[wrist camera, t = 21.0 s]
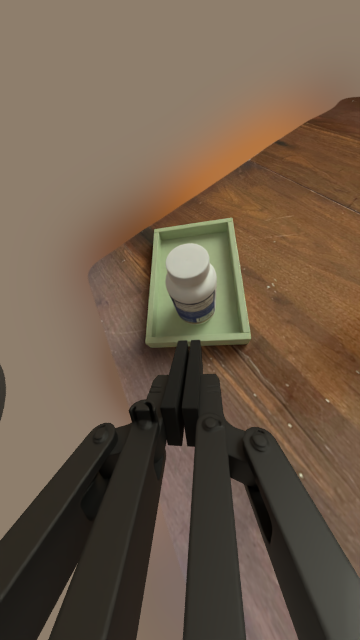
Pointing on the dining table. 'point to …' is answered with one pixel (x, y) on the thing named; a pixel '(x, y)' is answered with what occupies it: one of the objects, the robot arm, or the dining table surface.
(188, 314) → the pill bottle
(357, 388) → the dining table surface
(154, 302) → the tray
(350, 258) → the dining table surface
